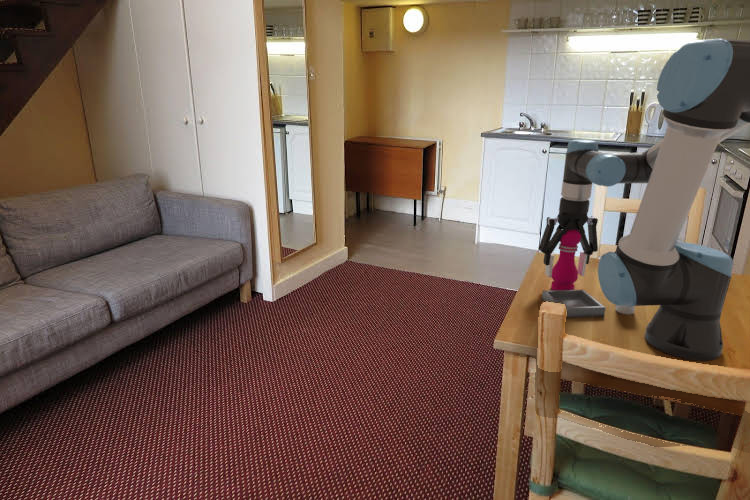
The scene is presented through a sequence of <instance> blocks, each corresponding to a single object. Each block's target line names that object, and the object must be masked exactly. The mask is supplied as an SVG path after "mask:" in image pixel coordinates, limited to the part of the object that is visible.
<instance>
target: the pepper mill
mask: <svg viewBox="0 0 750 500" xmlns="http://www.w3.org/2000/svg"><path fill="white" fill-rule="evenodd" d="M580 241H581V234H580V232H579V231H577V230H568V231H567V232H566V234H565V235H563V237H562V238H561V240H560V241H559V243H558V250H559V256H558V259H557V261H556V263H555V264H554V265H553V268H552V276H551V277H550V278H551V279H552V280H553V281H551V284H550V287H551V290H575V284H574V283H576V282H577V280H578V276H579V274H578V272H577V270H578V267H577V266H576V260H575V257H576V252H578V248H579V246H578V244H579V243H580Z"/></svg>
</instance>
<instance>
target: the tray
mask: <svg viewBox="0 0 750 500" xmlns="http://www.w3.org/2000/svg"><path fill="white" fill-rule="evenodd" d="M541 294H542V295H541V300H542V301H543V302H544V301H548V302H554V303H561V304H565V306H566V309H567V317H566V318H588V317H589V318H590V317H591V318H592V317H594V318H595V317H596V318H597V317H605V313H606V306H605V305H603V304H602V303H600V301H599V300H597V299H596V298H595V297H593V296H592V295H591V294H590V293H588V292H587V291H586V290H584V289H574V290H552V289H551V290H542V293H541Z"/></svg>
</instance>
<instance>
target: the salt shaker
mask: <svg viewBox="0 0 750 500" xmlns="http://www.w3.org/2000/svg"><path fill="white" fill-rule="evenodd" d="M635 307H636V306H633V307H629V306H618V305H615V311H616V312H617V313H620V314H623V315H633V314H634V313H635Z"/></svg>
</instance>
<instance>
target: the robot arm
mask: <svg viewBox="0 0 750 500" xmlns="http://www.w3.org/2000/svg"><path fill="white" fill-rule="evenodd" d="M656 90H657V92H658V93H657V95H656V98H657V101H658V104H659V105H660V106H661V108H662V109H663V111H662V117H663V119H664V121H665V123H666V124H667V127H666V130H665V133H664V136H663V138H662V139H661V140H659V141H658V142H656V143H655V144H654V145H653V146H651V147H649V148H648V149H646V150H645V151H644V152H643V151H642V152H601V151H599V144H598V142H597V141H596V140H591V139H572V140H570V141H568V144H567V150H566V152H565V160H564V166H563V167H564V169H563V175H562V176H563V177H562V184H561V193H560V195H561V197H560V200H559V206H558V207H559V208H558V215H557V216H556V217H555V216H554V217H551V216H548V217H546V224H545V225H546V226H545V229H544V231H543V234H542V236H541V239H540V242H539V246H538V249H537V250H538V251H539V252H541V253H542V254H544V255H543V264H544V265H545V270H544V274H545V276H547V277H549V278H552V277H551V276H552V269H553V267H554V259H555V255H554V254H553V253H554V251H555V249H556V248H557V246H559V244H560V240H561V238H562V237H563V235H565V234H566V232H567V231H568V230H577V231H579V232H580V234H581V241H580V242H579V243H580V245H581V248H582V251H579V252H580V253H579V258H578V265H577V272H578V276H581V277H585V273H586V272H585V271H586V266H587V265H589V263H590V257H591V256H592V255H593V254H594V253H597V252H598V250H599V248H598V247H599V245H598V235H597V234H598V233H597V226H598V222H599V219H598V218H597V217H594V216H593V215H591V216H588V213H589V207H590V202H591V201H590V199H591V196H592V190H593V189H592V187H593V184H594V185H596V186H603V187H607V188H608V187H613V186H615V185H618V184H647V185H646V187H645V190H644V193H643V195H642V199H641V201H640V204H639V206H638V207H639V208H638V210H637V213H636V215H635V218H634V221H633V224H632V227H631V229H630V232H629V234H627V235H624V236H622V237H621V238H619V240H618V242H617V246H616V247H615V248H616V249H615V251H607V252H605V253H604V254H602V255H601V256H600V258H599V260H598V266H597V267H598V268H597V276H598V277H597V278H598V283H599V286H600V289H601V292H602V293H603V295H604V297H605V299H607V300H608V302H610V303H611V304H612V305H615V306H616V305H618V306H629V307H633V306H635V307H637V306H638V307H641V306H642V307H643V306H644V307H645V306H646V307H647V306H659V307H658V309H657V310H656V312H655V313H654V315H653V317H652V319H651V320H650V321H649V323H648V324H647V325H646V327H645V328H646V329H645V333H644V338H645V340H646V342H647V343H649V345H651V346H652V347H653V348H655V349H656V350H659V351H660V352H662V353H665V354H668V355H670V356H673V357H677V358H680V359H684V360H689V361H690V360H691V361H697V362H698V361H700V362H701V361H702V362H703V361H704V362H705V361H707V362H708V361H712V360H716V359H719V358H720V357H721V356H722V352H723V348H724V342H723V334H722V328H721V327H722V326H721V322H720V321H721V316H722V312H723V309H724V304H725V300H726V298H727V293H728V290H729V286H730V282H731V279H732V278H733V274H732V271H733V267H734V260H733V258H732V257H731V256H730V255H729V254H728V253H725V252H723V251H721V250H719V249H716V248H712V247H710V246H706V245H702V244H698V243H697V244H696V243H693V242H686V241H678V240H679V237H680V235H681V232H682V230H683V227H684V225H685V223H686V221H687V218H688V217H689V216H688V215H689V213H690V211H691V210H692V206H693V204H694V202H695V199H696V197H697V194H698V192H699V189H700V187H701V185H702V182H703V180H704V178H705V176H706V173H707V171H708V168H709V166H710V163H711V160H712V158H713V157H714V153H715V151H716V149H717V147H718V145H719V144H720V143H722V142H724V141H725V140H726V139H728V138H731V136H733V135H735V134H737V133H739V131H741V130H743V129H745V128H747V127H748V126H750V39H735V38H732V39H731V38H718V37H716V38H715V37H714V38H710V39H709V38H708V39H698V40H693V41H689V42H687V43H685V44H684V45H681V47H680V48H678V49H677V50H675V51H674V53H673V54H672V55H671V56H670V57H669V58H668V59H667V61H666V63H664V66H663V68H662V70H661V71H660V74H659V77H658V81H657V85H656ZM557 224H558V226H557V227H556V229H555V226H556V225H557ZM585 224H587V235H588V238H587V235H586V230H585V227H584V225H585ZM554 230H555V232H554ZM553 232H554V234H553Z"/></svg>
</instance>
